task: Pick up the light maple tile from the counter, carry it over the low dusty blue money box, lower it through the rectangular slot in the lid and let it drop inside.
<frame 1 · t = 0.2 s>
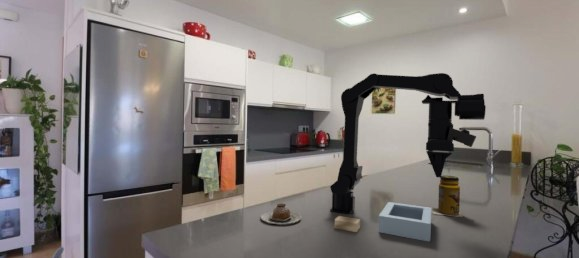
hand: (438, 174, 77), 14 cm above the countertop, tool pointing down, fingers open, 9 cm apart
tile: (347, 228, 75), on the countertop
condiment: (445, 213, 91), on the countertop
money box: (406, 227, 76), on the countertop
pastry: (281, 221, 81), on the countertop
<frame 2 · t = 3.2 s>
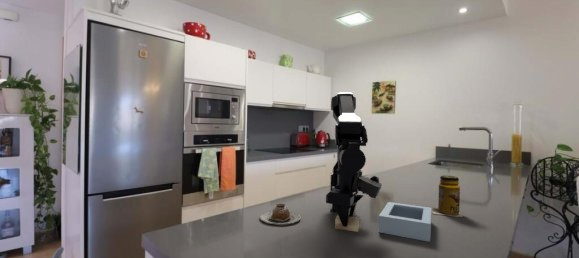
hand: (347, 223, 75), 1 cm above the countertop, tool pointing down, fingers closed on tile, 4 cm apart
tile: (347, 227, 75), on the countertop, touching gripper
everything else where it was.
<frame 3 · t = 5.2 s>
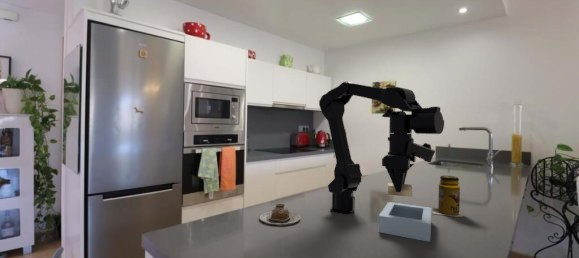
hand: (399, 190, 76), 10 cm above the countertop, tool pointing down, fingers closed on tile, 4 cm apart
tile: (399, 194, 76), point 9 cm above the countertop, touching gripper
everything else where it was.
when the fingers open (2 cm above the countertop, at t = 7.3 s): tile drops 2 cm, resting in money box.
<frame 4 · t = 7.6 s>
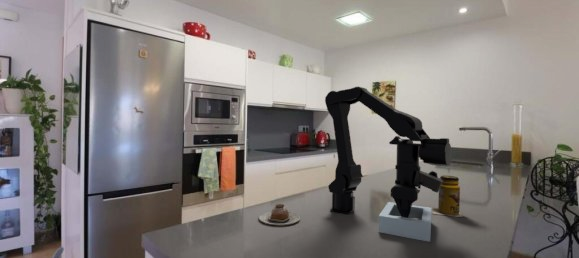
hand: (406, 218, 76), 2 cm above the countertop, tool pointing down, fingers open, 6 cm apart
tile: (406, 228, 76), resting in money box
everything else where it was.
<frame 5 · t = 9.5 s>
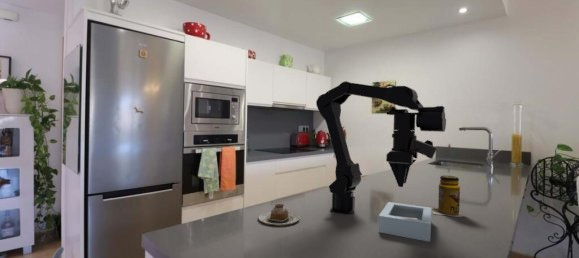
hand: (402, 184, 79), 11 cm above the countertop, tool pointing down, fingers open, 6 cm apart
nothing on the countertop moved.
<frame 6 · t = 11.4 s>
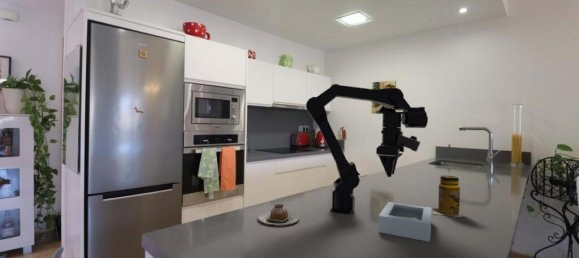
hand: (390, 175, 90), 12 cm above the countertop, tool pointing down, fingers open, 6 cm apart
nothing on the countertop moved.
at the end: tile inside the target area on the money box (0.0 cm from its centre), point 0.0 cm above the money box's base; the gripper is holding nothing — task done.
